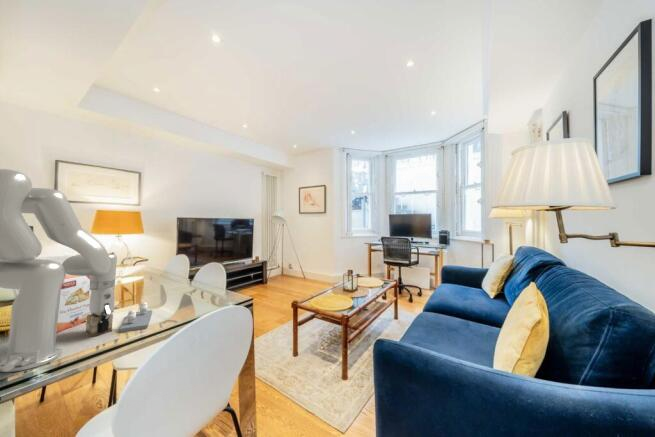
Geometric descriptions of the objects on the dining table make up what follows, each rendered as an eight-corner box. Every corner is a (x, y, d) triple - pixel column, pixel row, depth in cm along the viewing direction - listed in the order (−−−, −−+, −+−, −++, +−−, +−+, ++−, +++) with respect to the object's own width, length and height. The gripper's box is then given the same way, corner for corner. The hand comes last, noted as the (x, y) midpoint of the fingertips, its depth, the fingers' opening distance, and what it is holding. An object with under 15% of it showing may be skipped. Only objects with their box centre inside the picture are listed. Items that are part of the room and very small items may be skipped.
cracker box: (57, 333, 93) (61, 279, 94) (42, 332, 93) (46, 279, 94) (92, 319, 107) (96, 273, 108) (79, 319, 107) (83, 272, 108)
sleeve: (111, 331, 97) (113, 313, 97) (91, 336, 91) (93, 318, 92) (105, 327, 100) (106, 310, 100) (85, 333, 94) (87, 315, 95)
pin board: (147, 328, 100) (148, 311, 101) (119, 332, 96) (120, 314, 96) (152, 313, 117) (153, 298, 118) (128, 316, 113) (129, 300, 113)
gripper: (124, 285, 96) (120, 331, 95) (105, 280, 104) (102, 322, 103) (99, 289, 89) (95, 338, 88) (81, 283, 97) (77, 328, 96)
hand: (99, 329), depth 96 cm, fingers closed on sleeve, 6 cm apart
